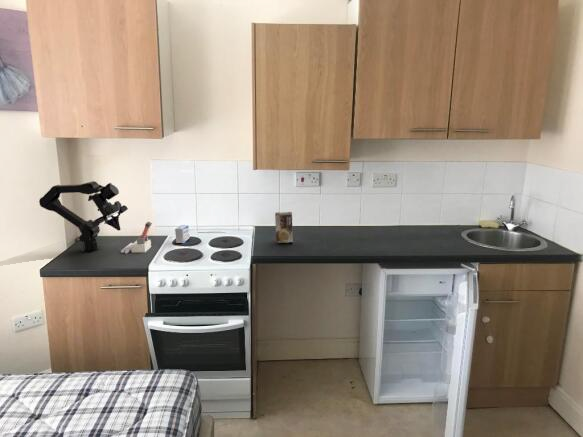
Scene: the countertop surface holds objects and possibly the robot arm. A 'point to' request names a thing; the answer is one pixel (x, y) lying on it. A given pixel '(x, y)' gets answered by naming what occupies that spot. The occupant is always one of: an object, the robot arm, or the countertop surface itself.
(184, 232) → the medicine box
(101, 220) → the robot arm
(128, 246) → the cables
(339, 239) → the countertop surface
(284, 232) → the coffee box
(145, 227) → the lever
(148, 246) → the switch box
